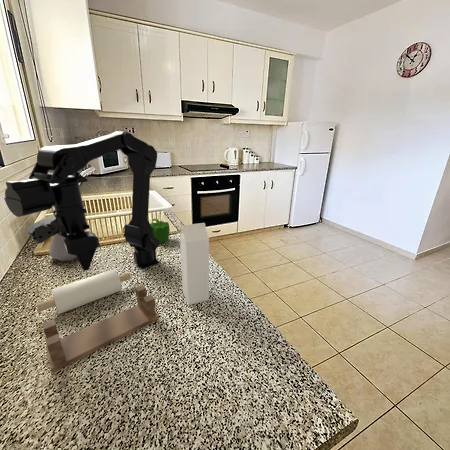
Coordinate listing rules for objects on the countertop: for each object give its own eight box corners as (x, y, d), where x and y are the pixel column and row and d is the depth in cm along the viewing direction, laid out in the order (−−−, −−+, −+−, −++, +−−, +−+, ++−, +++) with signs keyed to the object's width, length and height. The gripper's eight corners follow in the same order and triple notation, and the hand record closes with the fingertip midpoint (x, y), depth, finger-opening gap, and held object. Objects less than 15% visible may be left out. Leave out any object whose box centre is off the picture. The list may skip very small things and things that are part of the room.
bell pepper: (174, 239, 102) (173, 217, 98) (162, 247, 95) (160, 223, 91) (158, 235, 105) (157, 214, 101) (146, 242, 98) (143, 220, 94)
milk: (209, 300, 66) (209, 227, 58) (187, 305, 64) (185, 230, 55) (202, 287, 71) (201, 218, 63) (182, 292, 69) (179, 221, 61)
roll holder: (146, 304, 64) (144, 283, 61) (158, 318, 59) (156, 297, 56) (47, 348, 50) (39, 324, 48) (52, 372, 45) (43, 347, 43)
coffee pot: (44, 257, 85) (32, 218, 79) (77, 245, 94) (68, 209, 88) (78, 276, 75) (67, 232, 69) (111, 261, 84) (104, 221, 78)
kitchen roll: (126, 279, 74) (124, 261, 72) (134, 289, 70) (132, 271, 67) (39, 311, 60) (32, 290, 58) (42, 326, 56) (35, 304, 54)
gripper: (21, 200, 57) (39, 257, 62) (27, 223, 44) (48, 293, 49) (75, 193, 63) (86, 246, 69) (93, 211, 50) (105, 274, 56)
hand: (82, 262), depth 61 cm, fingers open, 9 cm apart
